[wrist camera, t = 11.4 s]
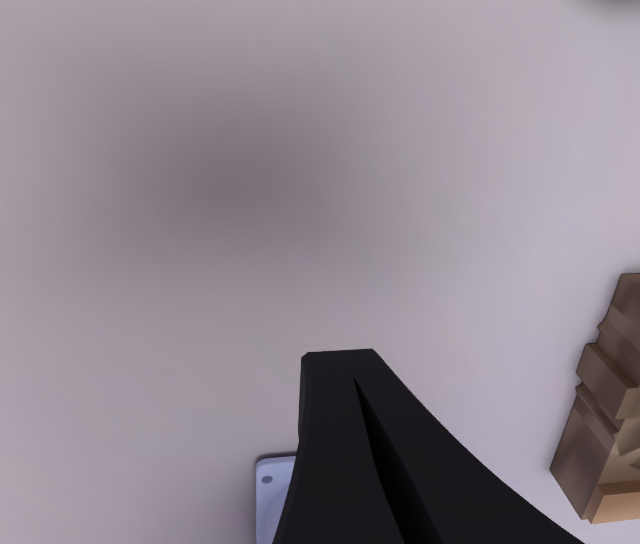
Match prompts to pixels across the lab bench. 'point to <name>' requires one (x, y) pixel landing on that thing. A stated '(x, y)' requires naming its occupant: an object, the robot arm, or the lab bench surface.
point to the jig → (606, 418)
